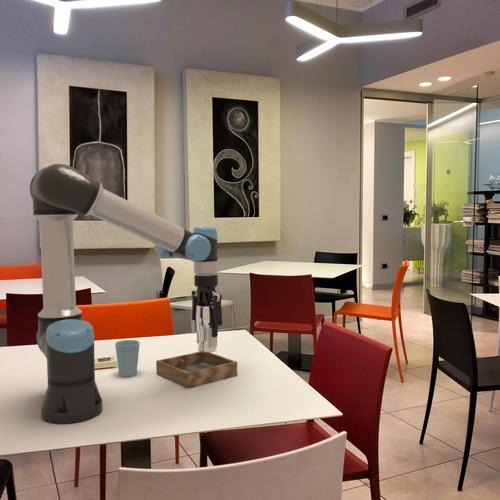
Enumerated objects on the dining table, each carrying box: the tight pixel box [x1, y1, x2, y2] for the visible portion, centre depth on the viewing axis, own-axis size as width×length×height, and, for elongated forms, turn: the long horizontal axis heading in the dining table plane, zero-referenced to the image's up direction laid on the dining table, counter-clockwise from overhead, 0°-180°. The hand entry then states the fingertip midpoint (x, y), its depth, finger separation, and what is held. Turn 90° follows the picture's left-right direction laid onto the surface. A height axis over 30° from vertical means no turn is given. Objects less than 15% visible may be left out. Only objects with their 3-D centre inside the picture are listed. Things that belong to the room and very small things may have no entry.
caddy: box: [155, 351, 238, 389], centre depth 166 cm, size 19×18×4 cm
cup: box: [114, 339, 141, 378], centre depth 166 cm, size 8×8×10 cm
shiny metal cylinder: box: [195, 304, 217, 353], centre depth 168 cm, size 7×7×15 cm
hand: (206, 344), depth 168 cm, fingers closed on shiny metal cylinder, 6 cm apart
